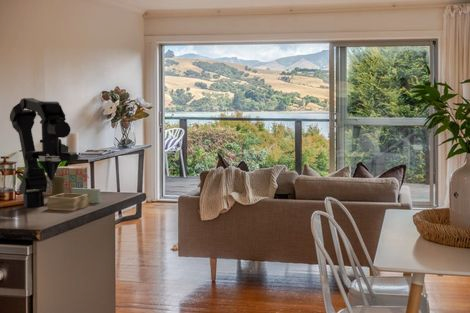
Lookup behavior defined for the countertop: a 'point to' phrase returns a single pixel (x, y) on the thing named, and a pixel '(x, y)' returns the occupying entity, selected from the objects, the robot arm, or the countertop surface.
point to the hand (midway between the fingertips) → (51, 179)
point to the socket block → (68, 201)
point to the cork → (57, 185)
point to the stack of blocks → (69, 178)
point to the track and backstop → (93, 193)
